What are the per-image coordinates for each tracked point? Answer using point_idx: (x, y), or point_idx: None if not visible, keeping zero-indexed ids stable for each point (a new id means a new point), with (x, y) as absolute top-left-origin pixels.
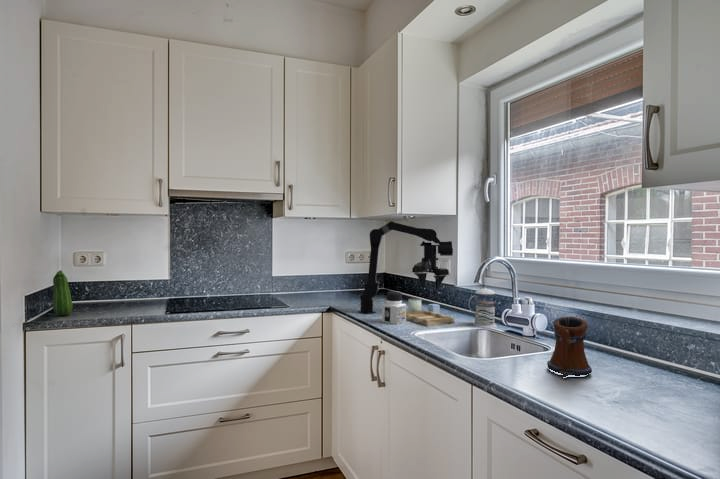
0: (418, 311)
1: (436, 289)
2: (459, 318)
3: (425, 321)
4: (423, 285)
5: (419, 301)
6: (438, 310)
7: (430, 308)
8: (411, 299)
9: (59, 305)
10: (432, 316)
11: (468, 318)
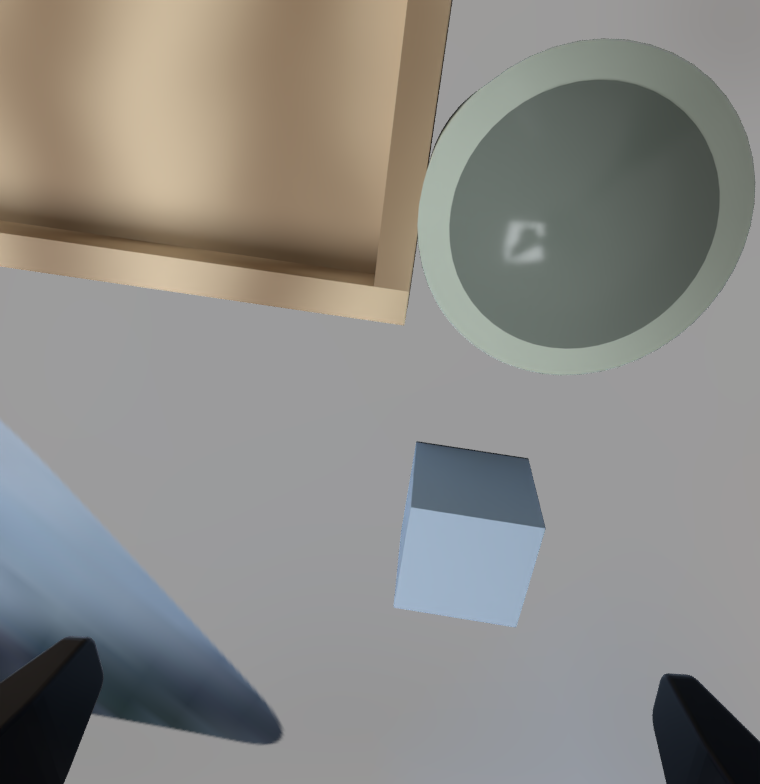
0: (392, 140)
1: (56, 645)
2: (50, 478)
3: None
4: (684, 776)
5: (419, 223)
6: (401, 539)
7: (472, 485)
8: (659, 161)
9: None
10: (164, 213)
11: (20, 545)
